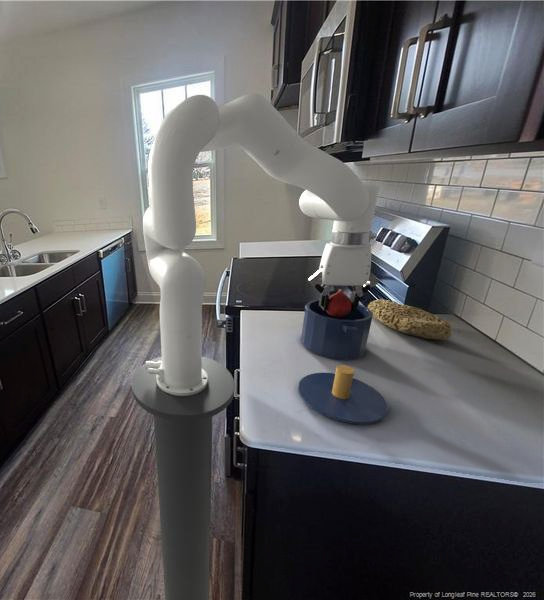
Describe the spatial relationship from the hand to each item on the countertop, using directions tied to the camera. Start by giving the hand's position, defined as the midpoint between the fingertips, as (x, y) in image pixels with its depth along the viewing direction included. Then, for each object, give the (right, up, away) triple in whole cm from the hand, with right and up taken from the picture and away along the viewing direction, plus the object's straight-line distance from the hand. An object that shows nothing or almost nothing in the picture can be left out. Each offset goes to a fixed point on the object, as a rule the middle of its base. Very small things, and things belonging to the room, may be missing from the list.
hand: (337, 308), depth 81 cm
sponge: (+25, -6, +10) cm, 27 cm away
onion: (0, -3, +1) cm, 3 cm away
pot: (+1, -10, +4) cm, 11 cm away
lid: (-9, -18, -16) cm, 26 cm away
